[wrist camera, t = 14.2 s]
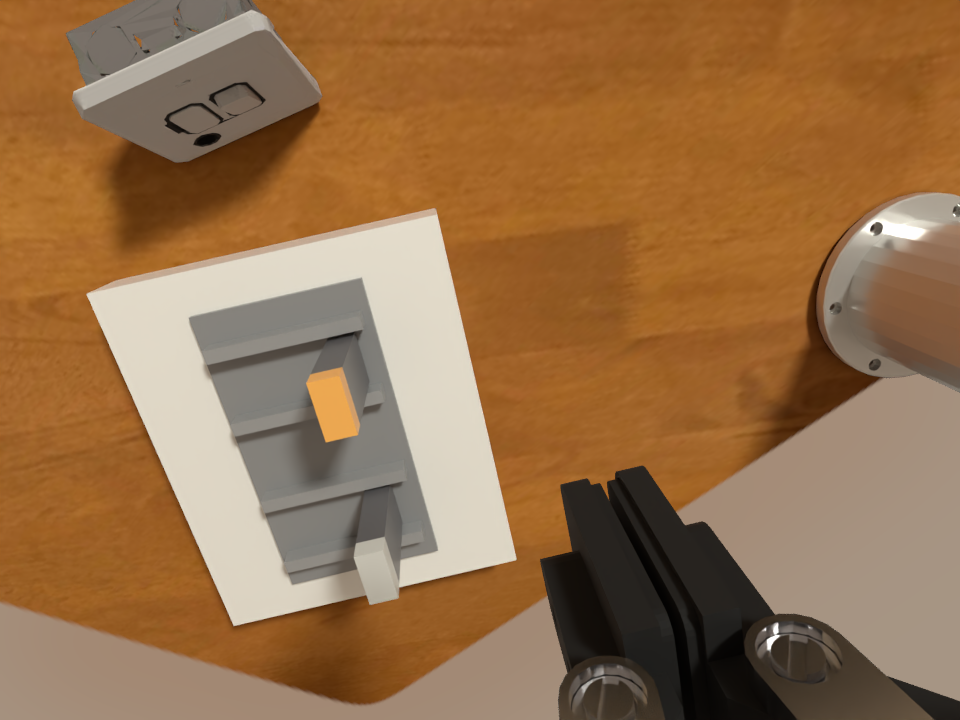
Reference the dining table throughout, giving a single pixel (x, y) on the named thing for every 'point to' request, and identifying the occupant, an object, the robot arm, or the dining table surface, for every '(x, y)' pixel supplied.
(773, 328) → the dining table surface
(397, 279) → the lever base
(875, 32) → the dining table surface
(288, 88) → the electrical switch
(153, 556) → the dining table surface
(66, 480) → the dining table surface
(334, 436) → the toggle
